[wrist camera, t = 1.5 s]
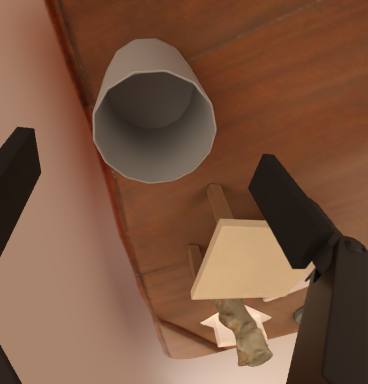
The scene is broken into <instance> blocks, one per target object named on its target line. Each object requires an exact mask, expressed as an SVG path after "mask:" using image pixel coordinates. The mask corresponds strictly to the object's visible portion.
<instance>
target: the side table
mask: <svg viewBox="0 0 368 384" xmlns="http://www.w3.org/2000/svg"><path fill="white" fill-rule="evenodd" d="M206 193H207V196H208V200H209V203H210V206H211V209H212V212H213V215H214V218H215V221H216V224H217V227H216V229H215V232H214V234H213V237H212V239H211V242H210V244H209V247H208V249H207V252H206V254H205V257H204V259H203V262H202V257H201V253H200V249H199V245H189V247H188V250H187V252H188V258H189V263H190V268H191V274H192V279H193V287H192V290H191V298H192V300H196V299H229V298H261V297H285V296H286V295H287V294H288V293H289V292H290V290H291V289H292V288H293V287H294V285H295V284H296V283H297V282H298V281H299V279H300V278H301V277H302V276H303V275H304V273H305V272H306V271H307V270H308V268H309V267H310V266H311V265H312V264H313V263H312V262H311V263H310V264H309V265H308V267H307V268H306V269H292V268H291V266H290V264H289V262H288V260H287V258H286V257H285V255H284V253H283V251H282V249H281V247H280V246H279V244H278V242H277V240H276V238H275V236H274V235H273V233H272V231H271V229H270V227H269V225H268V224H267V222H266V221H262V220H241V219H234V217H233V215H232V213H231V210H230V208H229V205H228V203H227V200H226V198H225V195H224V193H223V190H222V188H221V185H220V184H209V186H208V189H207V192H206ZM334 225H335V224H334ZM337 229H338V228H337ZM338 230H339V229H338Z"/></svg>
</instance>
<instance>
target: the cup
mask: <svg viewBox="0 0 368 384" xmlns="http://www.w3.org/2000/svg"><path fill="white" fill-rule="evenodd" d="M216 131H217V127H216V122H215V116H214V111H213V105H212V103H211V101H210V99H209V98H208V96H207V94H206V93H205V91H204V89H203V88H202V86H201V84H200V83H199V81H198V79H197V77H196V76H195V74H194V72H193V71H192V69H191V67H190V66H189V64H188V63H187V62H186V60H185V59H184V58H183V56H182V55H181V54H180V52H179V51H178V50H177V49H176V48H175V47H173V46H171V45H169V44H167V43H165V42H163V41H161V40H159V39H157V38H153V39H135V40H133V41H132V42H130V43H128V44H127V45H125V46H124V47H122V48H121V49H119V50H118V51H116V53H115V55H114V57H113V59H112V61H111V63H110V65H109V67H108V68H107V71H106V74H105V77H104V80H103V83H102V86H101V89H100V92H99V95H98V98H97V101H96V105H95V108H94V111H93V141H94V143H95V145H96V146H97V148H98V150H99V152H100V154H101V156H102V157H103V159H104V161H105V163H107V164H108V165H109V166H111V167H112V168H113V169H115V170H116V171H117V172H119V173H120V174H121V175H123V176H124V177H125V178H129V179H133V180H137V181H141V182H144V183H148V184H152V183H161V182H171V181H175V180H177V179H179V178H181V177H183V176H185V175H187V174H189V173H191V172H193V171H194V170H195V169H196V168H197V167H198V166H199V165H200V164H201V162H202V161H203V160H204V159H205V158H206V157H207V156H208V154H209V153H210V151H211V148H212V144H213V141H214V138H215V134H216Z"/></svg>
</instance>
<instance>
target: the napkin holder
mask: <svg viewBox="0 0 368 384" xmlns="http://www.w3.org/2000/svg"><path fill="white" fill-rule="evenodd" d="M245 307H246V309H247V311H248V312H249V314H250V315H251V317H252V318H253V319H254V320H255V321H256V323H257V327H258V328H260V329H261V330H262V333H263V335H264V337H265V341H267V340H268V339H267V336H266V333H265V330H264V328H263V325H262V322H264V321H266V320H268V319H270V318H272V317H270V316H268V315H266V314H263V313H261V312H259V311H257V310H255V309H252V308H250V307H248V306H246V305H245ZM218 315H219V312H218V313H217V314H215V315H213V316H211V317H210V318H208V319H206V320H204V321H203V322H201V324H204V325H207V326H210V327H213V328H214V331H215V335H216V340H217V344H218V347H224V346H233V345H236V339H235V335H234V333H233V332H232V330H230V329H228V328H227V327H225V326H224V325H223V324H222V323H221V322H220V321H219V318H218Z"/></svg>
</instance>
